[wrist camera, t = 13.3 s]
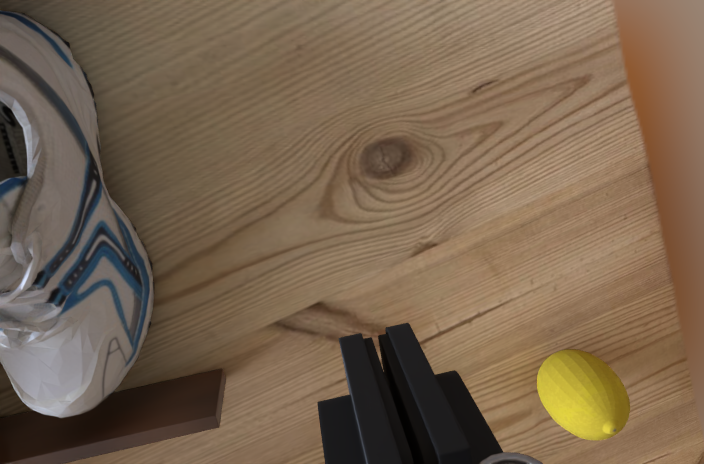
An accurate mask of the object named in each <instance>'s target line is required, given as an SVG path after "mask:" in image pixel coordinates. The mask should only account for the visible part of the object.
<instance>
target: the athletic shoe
mask: <svg viewBox="0 0 704 464" xmlns="http://www.w3.org/2000/svg"><path fill="white" fill-rule="evenodd" d="M93 98H94V94H93V91H92V87H91V84H90V83H89V81H88V80H87V75H86V73H85V72H84V71H83V69H82V68H81V67H80V66H79V65H78V64H77V63H76V62H75V61H74V60H73V57H72V52H71V50H70V46H69V43H68V42H66V41H64V40H63V39H62V38H61V37H60V36H59V35H58V34H56V33H55V32H53V31H52V30H50V29H48V28H46V27H45V26H43V25H41V24H39V23H38V22H36V21H35V20H33V19H32V18H30V17H29V16H27V15H26V14H23V13H17V12H9V11H0V362H1V364H2V365H3V367H4V369H5V371H6V373H7V375H8V377H9V379H10V381H11V383H12V385H13V388H14V390H15V392H16V393H17V395H18V396H19V397H20V399H21V400H22V401H23V403H25V404H26V405H27V406H28V407H29V408H30V409H32V410H34V411H37V412H39V413H41V414H44V415H50V416H56V417H59V418H65V417H70V416H75V415H79V414H83V413H85V412H88V411H90V410H92V409H93V408H95V407H96V406H97V405H99V404H100V403H101V402H102V401H103V400H105V399H106V398H107V397H108V396H109V395H110V394H112V393H113V392H114V390H115V389H116V388H117V387H118V386H119V385H120V383H121V382H122V380H123V379H124V377H125V376H126V375H127V373H128V372H129V370H130V369H131V367H132V366H133V364H134V363H135V362H136V360H137V359H138V357H139V353H140V350H141V348H142V345H143V343H144V340H145V338H146V335H147V332H148V330H149V327H150V325H151V321H150V320H151V314H152V310H153V302H154V282H153V276H152V263H151V261H150V259H149V257H148V255H147V252H146V249H145V246H144V244H143V242H142V241H140V240H139V238H138V236H137V234H136V228H135V227H134V226H133V224H132V223H131V222H130V220H129V219H128V217H127V216H126V215H125V214H124V212H123V211H122V210H121V209H120V208H119V206H118V205H117V204H116V203H115V202H114V201H113V200H112V198H111V197H110V196H109V193H108V191H107V189H106V186H105V184H104V181H103V174H102V167H101V161H100V149H101V145H100V139H99V130H98V119H97V111H96V103H95V102H94V100H93Z"/></svg>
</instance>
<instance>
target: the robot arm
mask: <svg viewBox="0 0 704 464" xmlns="http://www.w3.org/2000/svg"><path fill="white" fill-rule="evenodd" d="M378 339H379V346H380V352H381V358H382V364H383V369H382V366H381V363H380V360H379V357H378V354H377V352H376V349H375V346H374V343H373V340H372V338H371V337H370V338H366V339H363V337H362V334H361V333H359V334H355V335H350V336H346V337H341V338H339V342H340V348H341V353H342V358H343V363H344V368H345V373H346V378H347V383H348V388H349V393H350V395H346V396H341V397H337V398H333V399H329V400H324V401H320V402H318V411H319V419H320V427H321V435H322V443H323V450H324V458H325V464H543V463H542V462H540V461H538V460H536V459H534V458H532V457H530V456H528V455H524V454H520V453H509V452H503V451H502V449H501V447H500V445H499V444H498V442H497V440H496V438H495V437H494V435H493V433H492V431H491V430H490V428H489V426H488V424H487V423H486V421H485V419H484V417H483V416H482V414H481V412H480V410H479V409H478V407H477V405H476V403H475V402H474V400H473V398H472V396H471V395H470V393H469V391H468V389H467V388H466V386H465V384H464V382H463V381H462V379H461V377H460V376H459V374H458V373H457V372H456V371H455V370H454V371H450V372H445V373H441V374H437V375H434V373H433V371H432V369H431V367H430V364H429V362H428V360H427V358H426V356H425V354H424V352H423V350H422V348H421V346H420V344H419V342H418V340H417V338H416V336H415V334H414V332H413V330H412V328H411V326H410V324H409V323H404V324H400V325H395V326H391V327H386V334H384V335H379V336H378ZM383 370H384V372H383Z"/></svg>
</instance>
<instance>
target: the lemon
mask: <svg viewBox="0 0 704 464" xmlns="http://www.w3.org/2000/svg"><path fill="white" fill-rule="evenodd" d="M537 389H538V393H539V396H540V399H541V401H542V404H543V405H544V407H545V408H546V410H547V411H548V413H549V414H550V415H551V417H552V418H553V419H554V420H555V421H556V422H557V423H558V424H559V425H560V426H562V427H563V428H564V429H566V430H567V431H569V432H570V433H572V434H573V435H575V436H577V437H580V438H583V439H587V440H604V439H608V438H611V437H613V436H614V435H616V434H617V433H619V432H620V431H621V430H622V429H623V427H624V426H625V424H626V422H627V420H628V418H629V413H630V401H629V397H628V394H627V392H626V389H625V387H624V385H623V383H622V382H621V380H620V379H619V377H618V376H617V375H616V373H615V372H614V371H613V370H612V369H611V368H610V367H609V366H608V365H607V364H606V363H605V362H604V361H602V360H601V359H599V358H597V357H596V356H594V355H592V354H590V353H588V352H585V351H581V350H576V349H567V350H562V351H558V352H556V353H554V354H552V355H551V356H549V357H548V358H547V359H546V360H545V361H544V362H543V364H542V365H541V367H540V369H539V372H538V376H537Z"/></svg>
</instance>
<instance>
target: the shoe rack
mask: <svg viewBox="0 0 704 464" xmlns="http://www.w3.org/2000/svg"><path fill="white" fill-rule="evenodd" d="M225 383H226V378H225V374H224V371H223V369H219V370H214V371H210V372H205V373H201V374H196V375H192V376H187V377H183V378H178V379H174V380H169V381H165V382H160V383H156V384H151V385H147V386H142V387H138V388H133V389H129V390H124V391H120V392H115V393H112V394H110V395H109V396H108V397H107V398H106V399H105V400H103V401H102V402H101V403H100V404H99V405H97V406H96V407H95V408H93V409H92V410H90V411H88V412H85V413H83V414H79V415H75V416H70V417H65V418H59V417H56V416H50V415H44V414H41V413H39V412H37V411H30V412H25V413H21V414H16V415H12V416H7V417H3V418H0V464H63V463H67V462H72V461H76V460H80V459H85V458H89V457H93V456H98V455H102V454H106V453H111V452H115V451H119V450H124V449H128V448H132V447H137V446H141V445H145V444H149V443H154V442H158V441H162V440H167V439H171V438H175V437H180V436H184V435H188V434H193V433H197V432H201V431H206V430H210V429H214V428H219V426H220V419H221V412H222V404H223V397H224V390H225Z"/></svg>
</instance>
